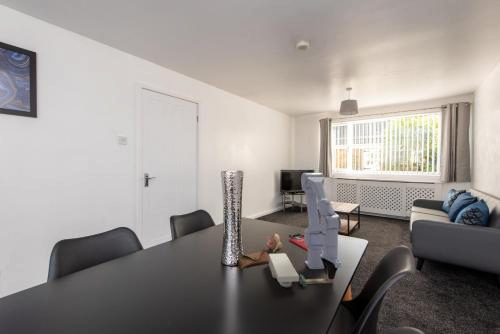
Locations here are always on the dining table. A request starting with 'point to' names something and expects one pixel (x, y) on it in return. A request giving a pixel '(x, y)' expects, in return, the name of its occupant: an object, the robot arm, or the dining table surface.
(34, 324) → the dining table surface
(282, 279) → the cream cabinet
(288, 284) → the steel puck
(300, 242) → the red board with handle
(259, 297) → the dining table surface
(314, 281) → the wood scraper
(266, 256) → the sunglasses case
